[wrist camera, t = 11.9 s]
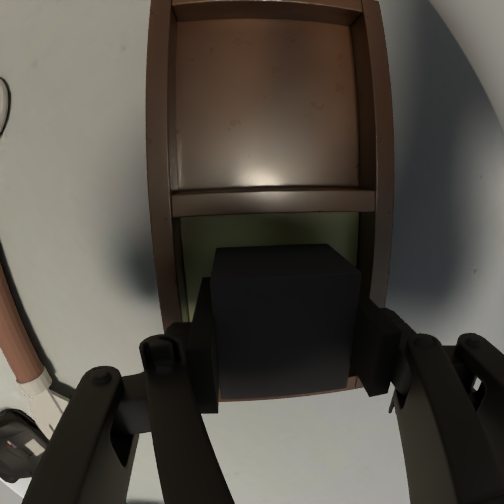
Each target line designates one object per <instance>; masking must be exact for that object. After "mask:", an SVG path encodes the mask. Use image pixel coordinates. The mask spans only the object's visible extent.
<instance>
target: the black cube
mask: <svg viewBox="0 0 504 504" xmlns="http://www.w3.org/2000/svg"><path fill="white" fill-rule="evenodd" d="M360 283H361V271H360V270H358V269H357V268H356V267H355V266H354V265H353V264H351V263H350V262H349V261H348V260H347V259H345V258H344V257H343V256H342V255H341V254H339V253H338V252H337V251H336V250H335V249H333V248H332V247H331V246H330V245H328V244H300V245H273V246H248V247H223V248H216V251H215V257H214V262H213V268H212V273H211V279H210V287H211V300H212V312H213V315H214V324H215V335H216V346H217V357H218V367H219V386H220V395H221V399H223V400H224V399H249V398H265V397H278V396H289V395H299V394H308V393H316V392H324V391H331V390H338V389H344V388H346V387H347V381H348V376H349V370H350V363H351V356H352V350H353V343H354V335H355V328H356V319H357V311H358V303H359V294H360Z"/></svg>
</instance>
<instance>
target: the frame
mask: <svg viewBox="0 0 504 504" xmlns="http://www.w3.org/2000/svg"><path fill="white" fill-rule="evenodd" d="M146 157H147V180H148V197H149V211H150V223H151V234H152V245H153V254H154V263H155V272H156V280H157V288H158V295H159V302H160V309H161V316H162V322H163V328H164V333H165V331H166V328H167V327H168V326H170V325H171V324H172V323H173V322H192V319H193V315H194V311H195V306H196V302H197V298H198V294H199V290H200V285H201V281H202V277H211V273H212V268H213V262H214V257H215V251H216V248H223V247H248V246H273V245H300V244H328V245H330V246H331V247H332V248H333V249H335V250H336V251H337V252H338V253H339V254H341V255H342V256H343V257H344V258H345V259H347V260H348V261H349V262H350V263H351V264H353V265H354V266H355V267H356V268H357V269H358V270H360V271H361V283H360V289H361V290H362V291H363V292H364V293H365V294H366V295H367V296H368V297H369V298H370V299H371V300H372V301H373V302H374V303H375V304H376V305H377V306H378V307H379V308H384V307H385V300H386V292H387V284H388V275H389V265H390V255H391V242H392V228H393V209H394V127H393V108H392V94H391V83H390V73H389V64H388V55H387V48H386V41H385V34H384V28H383V22H382V16H381V10H380V5H379V1H375V0H151V6H150V17H149V30H148V45H147V66H146ZM363 387H364V386H363V385H362V383H361V381H360V379H359V378H358V376H357V374H356V372H355V371H354V369H353V367H352V365H351V364H350V370H349V376H348V381H347V387H346V388H344V389H338V390H331V391H324V392H316V393H308V394H299V395H289V396H278V397H265V398H249V399H224V400H223V399H221V395H220V386H219V399H218V402H232V401H253V400H268V399H280V398H291V397H300V396H309V395H317V394H325V393H332V392H339V391H345V390H351V389H354V388H355V389H357V388H363Z"/></svg>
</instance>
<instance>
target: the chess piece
mask: <svg viewBox="0 0 504 504" xmlns="http://www.w3.org/2000/svg"><path fill="white" fill-rule="evenodd" d="M7 111H8V92H7V88H6V86H5V84H4V82H3V81H2V80H1V79H0V133H1V131H2V128H3V126H4V123H5V120H6V116H7Z"/></svg>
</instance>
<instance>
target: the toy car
mask: <svg viewBox="0 0 504 504" xmlns="http://www.w3.org/2000/svg"><path fill="white" fill-rule="evenodd" d="M48 442H49V439H48V438H47V437H46V436H45V435H44V434H43V433H42V431H41V430H40V428H39V427H38V426H37V424H36V423H35V422H33V421H32V420H31V419H30V418H29V417H27V416H26V415H25V414H24V413H22V412H20V411H17V410H9V411H8V412H6V411H5V412H3V413H2V414H1V415H0V477H1V478H2V479H3V480H4V481H6V482H9V483H15V482H16V481H17V480H18V479H20V478H28V477H33V475H34V473H35V471H36V468H37V466H38V464H39V462H40V459H41V457H42V455H43V453H44V451H45V449H46V447H47V445H48Z"/></svg>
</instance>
